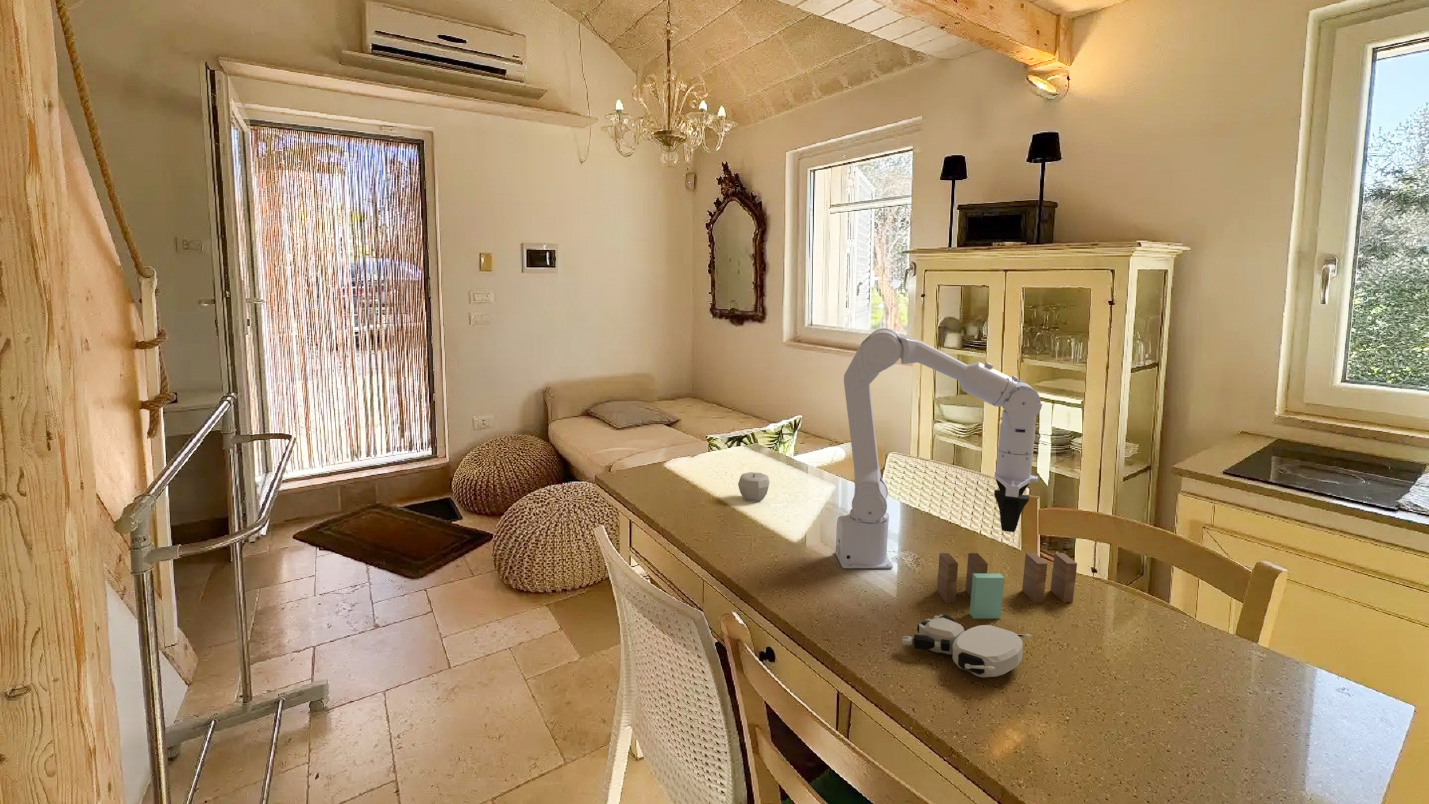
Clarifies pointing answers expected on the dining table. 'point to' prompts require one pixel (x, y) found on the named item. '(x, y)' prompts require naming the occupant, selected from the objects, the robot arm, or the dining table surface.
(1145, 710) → the dining table surface
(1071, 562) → the walnut domino
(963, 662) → the robot toy
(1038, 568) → the walnut domino
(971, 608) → the teal domino
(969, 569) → the walnut domino
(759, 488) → the apple
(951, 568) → the walnut domino
